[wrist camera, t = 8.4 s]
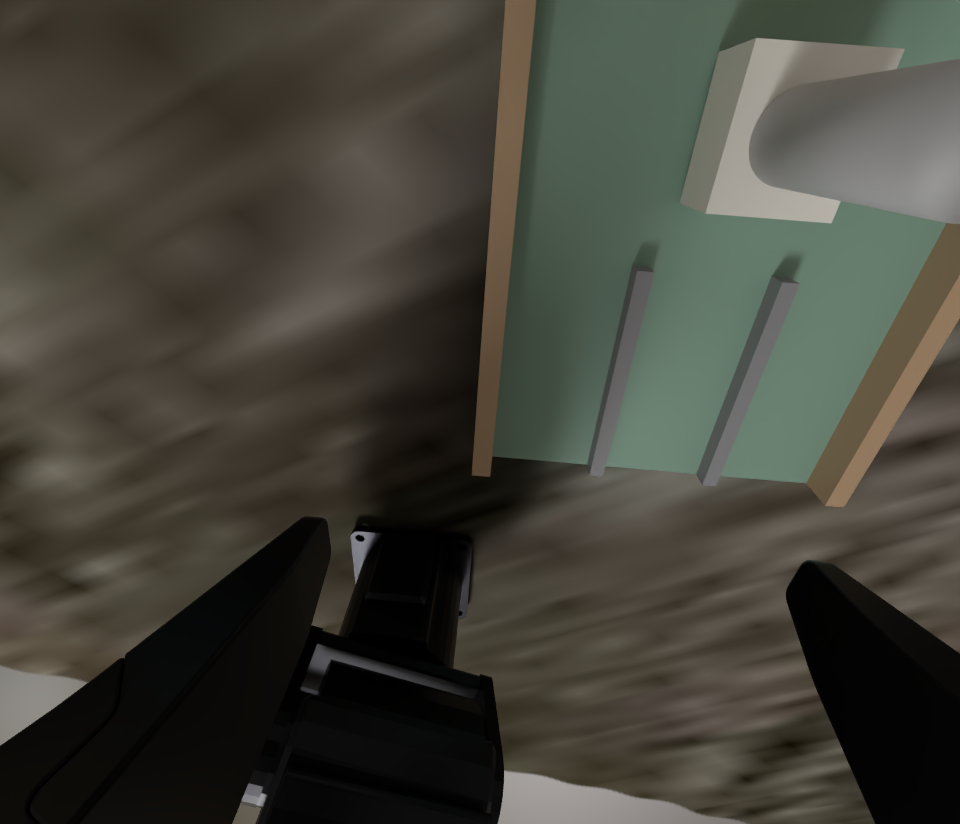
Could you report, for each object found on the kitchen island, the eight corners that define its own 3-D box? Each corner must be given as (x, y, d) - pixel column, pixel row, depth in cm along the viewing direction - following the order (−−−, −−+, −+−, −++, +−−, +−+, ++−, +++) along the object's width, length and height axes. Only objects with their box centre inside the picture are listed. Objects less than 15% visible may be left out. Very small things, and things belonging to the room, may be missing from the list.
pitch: (814, 473, 22) (843, 507, 20) (475, 445, 22) (471, 475, 20) (1222, -278, 11) (1379, -369, 9) (530, -322, 11) (535, -420, 9)
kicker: (788, 211, 16) (1029, 279, 8) (679, 202, 16) (825, 263, 8) (844, 61, 14) (1228, -20, 6) (718, 51, 14) (955, -39, 6)
